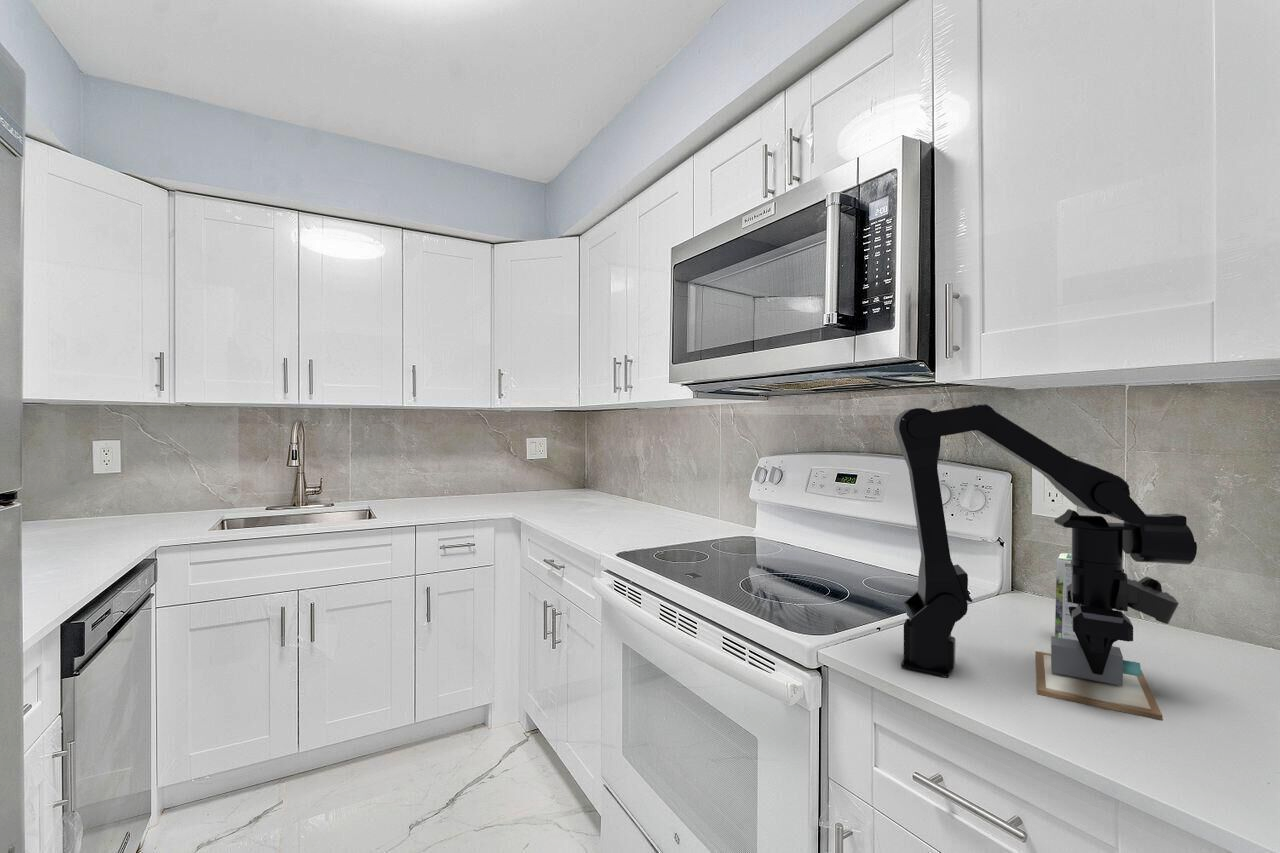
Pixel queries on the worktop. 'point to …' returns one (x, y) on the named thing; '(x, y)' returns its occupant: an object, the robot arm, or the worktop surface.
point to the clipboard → (1097, 690)
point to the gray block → (1074, 663)
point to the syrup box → (1063, 598)
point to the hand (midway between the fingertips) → (1096, 668)
